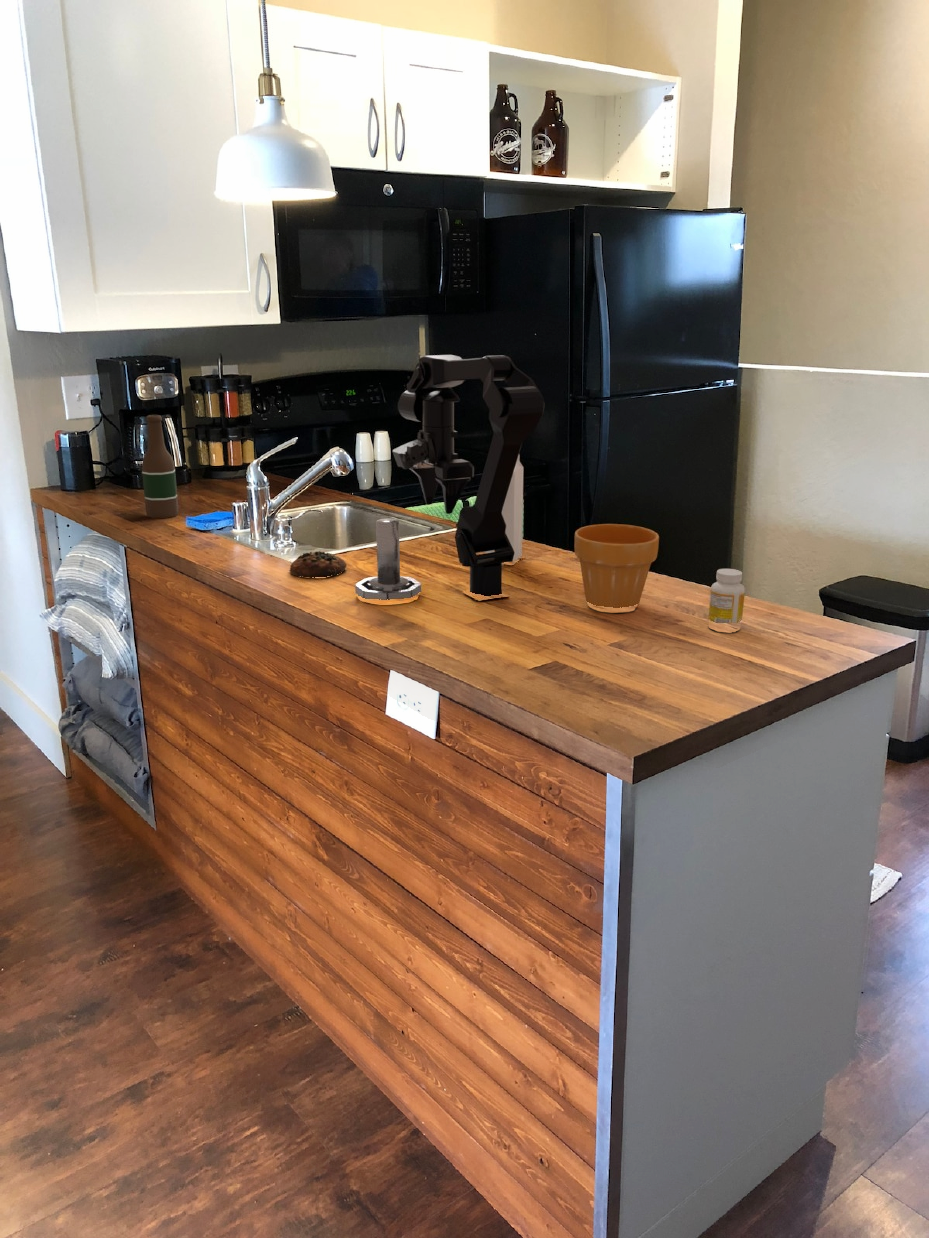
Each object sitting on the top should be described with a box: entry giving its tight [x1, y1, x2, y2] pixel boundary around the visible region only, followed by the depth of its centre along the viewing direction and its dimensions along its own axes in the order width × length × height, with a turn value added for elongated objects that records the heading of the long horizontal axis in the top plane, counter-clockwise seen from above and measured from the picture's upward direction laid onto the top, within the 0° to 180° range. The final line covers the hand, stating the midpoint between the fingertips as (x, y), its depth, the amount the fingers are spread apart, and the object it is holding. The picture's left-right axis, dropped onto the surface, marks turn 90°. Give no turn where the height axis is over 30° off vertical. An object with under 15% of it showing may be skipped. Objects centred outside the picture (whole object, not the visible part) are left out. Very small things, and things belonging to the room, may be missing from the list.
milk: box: [484, 454, 524, 562], centre depth 201 cm, size 6×6×22 cm
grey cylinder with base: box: [367, 518, 411, 592], centre depth 179 cm, size 8×8×13 cm
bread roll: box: [289, 551, 347, 579], centre depth 197 cm, size 11×11×5 cm
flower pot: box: [574, 523, 660, 608], centre depth 173 cm, size 14×14×13 cm
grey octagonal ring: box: [354, 575, 422, 600], centre depth 181 cm, size 11×11×2 cm
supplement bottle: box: [707, 568, 746, 623], centre depth 163 cm, size 5×5×10 cm
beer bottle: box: [141, 414, 179, 519], centre depth 242 cm, size 8×8×24 cm
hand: (438, 508), depth 190 cm, fingers open, 9 cm apart
